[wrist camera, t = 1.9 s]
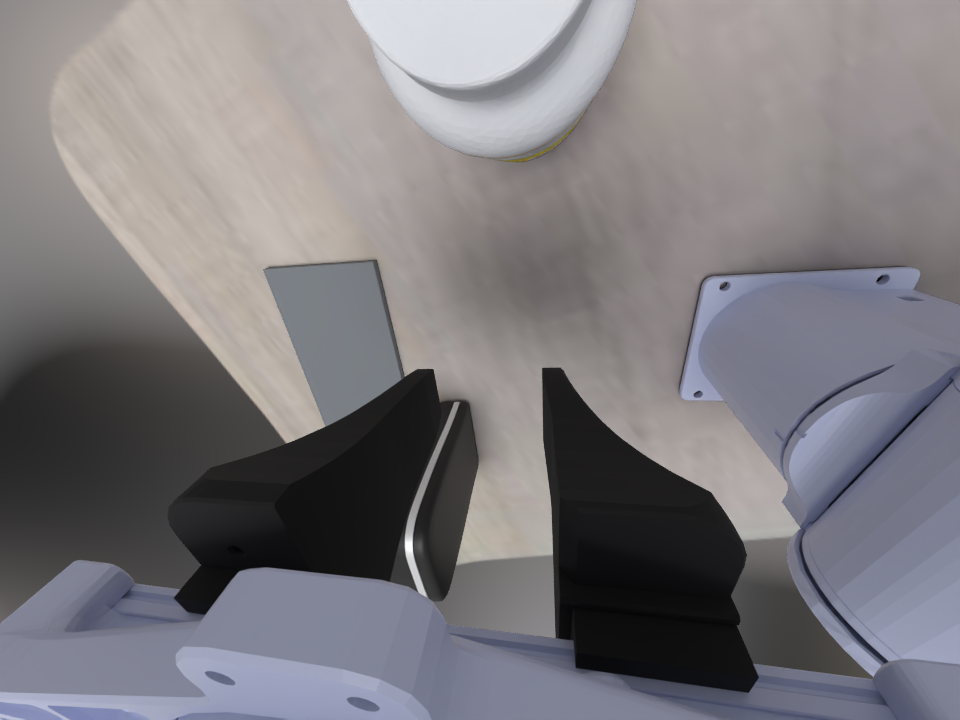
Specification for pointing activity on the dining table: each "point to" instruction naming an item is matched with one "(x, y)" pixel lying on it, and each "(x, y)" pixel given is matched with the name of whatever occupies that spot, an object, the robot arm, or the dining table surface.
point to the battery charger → (439, 508)
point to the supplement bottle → (495, 67)
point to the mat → (338, 332)
